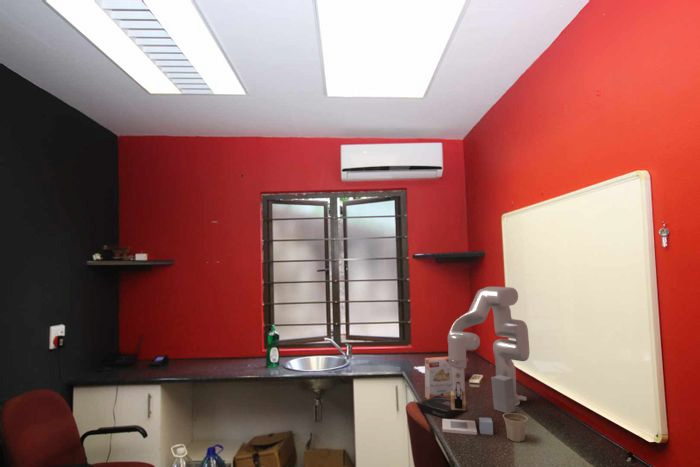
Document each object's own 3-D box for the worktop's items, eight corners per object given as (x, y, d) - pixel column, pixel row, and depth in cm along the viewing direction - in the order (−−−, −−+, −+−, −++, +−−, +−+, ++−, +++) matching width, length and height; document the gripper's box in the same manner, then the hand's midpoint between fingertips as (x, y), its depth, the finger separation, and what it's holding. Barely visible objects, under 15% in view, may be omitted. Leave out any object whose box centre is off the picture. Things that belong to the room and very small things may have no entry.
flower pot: (522, 433, 173) (521, 412, 174) (532, 443, 164) (531, 421, 164) (499, 434, 173) (499, 413, 173) (509, 444, 163) (508, 421, 164)
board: (474, 423, 184) (474, 420, 184) (477, 434, 172) (477, 431, 172) (442, 421, 187) (442, 418, 187) (442, 432, 175) (442, 428, 175)
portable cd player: (466, 411, 201) (466, 402, 201) (447, 420, 189) (446, 411, 189) (437, 403, 212) (437, 395, 213) (417, 411, 200) (417, 403, 201)
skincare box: (516, 411, 198) (515, 377, 199) (505, 414, 195) (504, 380, 196) (501, 406, 206) (500, 373, 207) (491, 409, 202) (490, 375, 203)
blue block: (491, 430, 177) (491, 418, 178) (493, 434, 172) (492, 422, 173) (479, 429, 178) (479, 417, 179) (480, 433, 173) (480, 421, 174)
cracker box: (429, 401, 214) (429, 360, 215) (424, 397, 219) (424, 357, 221) (454, 399, 217) (453, 358, 219) (448, 395, 223) (447, 355, 225)
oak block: (465, 405, 182) (464, 391, 183) (465, 410, 176) (465, 396, 177) (450, 404, 184) (450, 390, 184) (451, 409, 178) (451, 395, 178)
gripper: (467, 368, 172) (468, 413, 171) (465, 359, 189) (466, 400, 188) (449, 367, 174) (449, 412, 172) (448, 358, 191) (448, 399, 189)
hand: (458, 405), depth 180 cm, fingers closed on oak block, 6 cm apart
